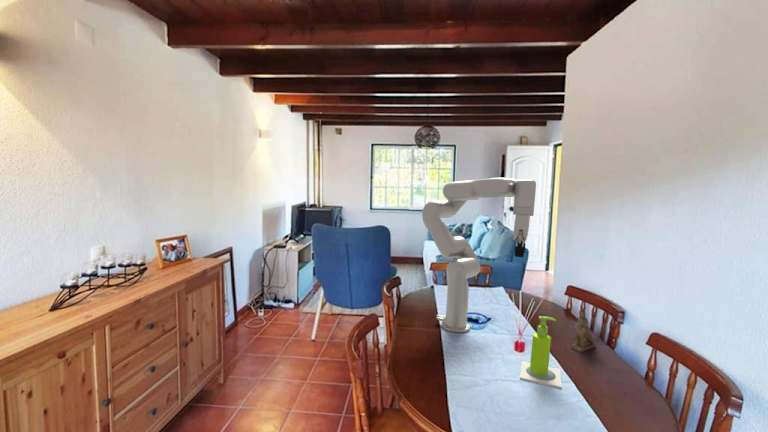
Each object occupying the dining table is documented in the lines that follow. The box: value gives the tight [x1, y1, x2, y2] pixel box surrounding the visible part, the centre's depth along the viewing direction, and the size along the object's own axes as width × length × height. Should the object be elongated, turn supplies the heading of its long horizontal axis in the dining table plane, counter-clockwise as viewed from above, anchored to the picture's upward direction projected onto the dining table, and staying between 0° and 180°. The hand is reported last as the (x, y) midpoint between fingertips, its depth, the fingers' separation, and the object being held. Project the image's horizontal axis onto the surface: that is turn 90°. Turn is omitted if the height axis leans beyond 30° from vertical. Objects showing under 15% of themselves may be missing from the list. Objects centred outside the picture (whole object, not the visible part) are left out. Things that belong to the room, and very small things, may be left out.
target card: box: [519, 360, 563, 390], centre depth 134 cm, size 13×13×1 cm
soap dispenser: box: [529, 315, 557, 376], centre depth 133 cm, size 6×7×20 cm
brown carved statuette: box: [570, 310, 596, 353], centre depth 157 cm, size 12×6×18 cm, turn 121°
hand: (519, 254), depth 151 cm, fingers open, 9 cm apart
